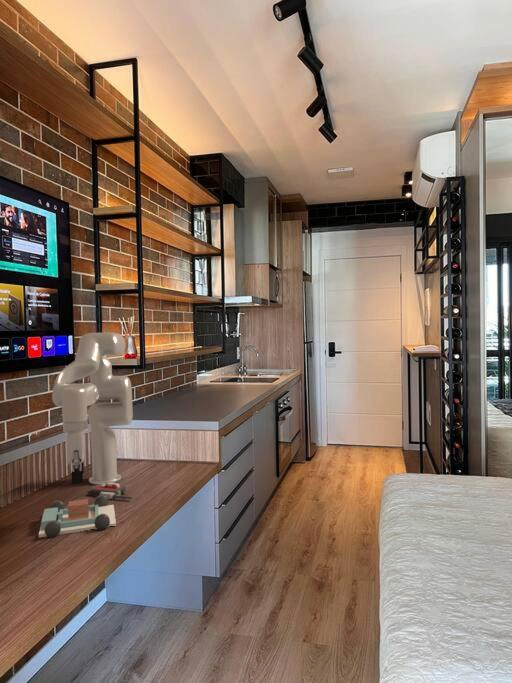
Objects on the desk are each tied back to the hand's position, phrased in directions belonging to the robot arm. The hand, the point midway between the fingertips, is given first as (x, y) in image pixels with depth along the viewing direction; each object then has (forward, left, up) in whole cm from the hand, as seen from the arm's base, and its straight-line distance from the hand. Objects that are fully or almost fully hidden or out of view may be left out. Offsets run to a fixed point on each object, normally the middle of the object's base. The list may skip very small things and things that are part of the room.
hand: (78, 478), depth 159 cm
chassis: (+1, 0, -14) cm, 13 cm away
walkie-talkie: (-22, +11, -14) cm, 28 cm away
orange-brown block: (+1, 0, -13) cm, 12 cm away
